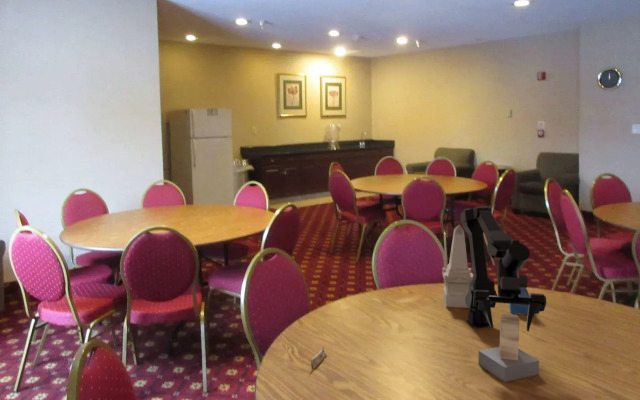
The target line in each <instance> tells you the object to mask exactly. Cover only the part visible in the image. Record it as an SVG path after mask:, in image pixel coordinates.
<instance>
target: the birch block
mask: <svg viewBox="0 0 640 400" xmlns="http://www.w3.org/2000/svg"><path fill="white" fill-rule="evenodd" d="M499 321H500V323H499V346H498V347H499V353H500V358H501V359H512V360H518V349H520V347H519V345H520V343H519V342H520V323H521V322H520V318H519V315H518V314H514V313H510V314H509V313H500V319H499Z"/></svg>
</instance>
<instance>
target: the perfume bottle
mask: <svg viewBox="0 0 640 400" xmlns="http://www.w3.org/2000/svg"><path fill="white" fill-rule="evenodd" d="M519 277H520V276H518V278H519ZM529 296H530V293H529V291H528V289H527V288H521V294H520V295H519V297H525V298H529ZM508 308H510V309H509V311H510V314H516V313H517V314H516V315H518V314H519V313H520V314H519V315H527V314H528V305H523V304H508Z"/></svg>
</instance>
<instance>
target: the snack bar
mask: <svg viewBox="0 0 640 400" xmlns="http://www.w3.org/2000/svg"><path fill="white" fill-rule="evenodd" d="M327 356H328V354H327V353H326V352H325V350H324V346H323V347H322V348H321V349H320V351H318V352H317V353H316V354H315V355H314V356H313V357H312V358H311V359H310V365H311V370H312V371H314V369H316V367H317V366H318V365H319V364H320V363H322V362H323V360H324V359H325V358H326V357H327Z"/></svg>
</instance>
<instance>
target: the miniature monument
mask: <svg viewBox="0 0 640 400" xmlns="http://www.w3.org/2000/svg"><path fill="white" fill-rule="evenodd" d="M465 237H466V236H465V230H464V228H463V227H461V225H460V224H458V225H457V226H455V228H454V229H453V234H452V242H451V248H450V255H449V263H448V264H447V266H446V268H445V267H442V272H441V274H442V277H443V281H444V282H445V285H444V286H443V289H442V290H443V291H442V293H443V295H442V297H443V298H442V299H443V303H444V305H445V308H467V309H468V308H469V307H468V306H467V305H466V303H465V297H466V295H467V294H468V292H469V285H470V283H471V281H472V279H473V272H472V268H471V267H470V268H469V266H468V265H469V264H468V257H467V247H466V238H465Z"/></svg>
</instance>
